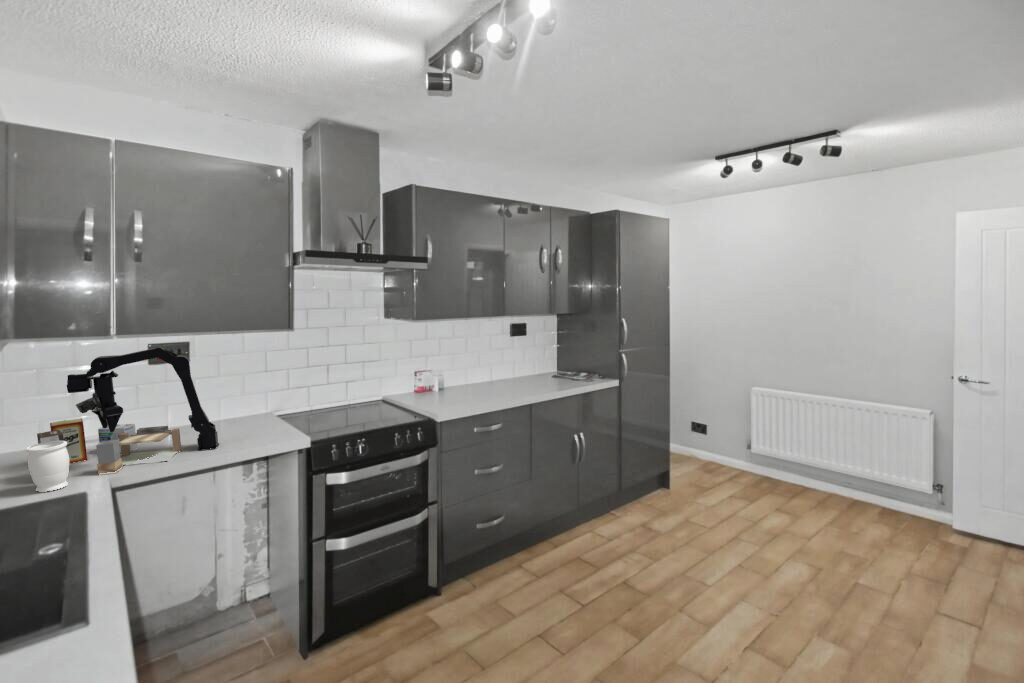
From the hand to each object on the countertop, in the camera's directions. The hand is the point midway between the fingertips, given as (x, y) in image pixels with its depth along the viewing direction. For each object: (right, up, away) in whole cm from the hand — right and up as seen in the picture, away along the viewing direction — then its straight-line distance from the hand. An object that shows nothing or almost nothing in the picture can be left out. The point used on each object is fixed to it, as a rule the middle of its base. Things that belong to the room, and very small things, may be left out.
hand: (108, 430), depth 198 cm
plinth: (+7, -14, -8) cm, 17 cm away
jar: (-1, -16, -23) cm, 28 cm away
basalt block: (+7, -10, -8) cm, 15 cm away
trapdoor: (+10, -5, +7) cm, 13 cm away
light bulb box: (-8, -12, +16) cm, 21 cm away
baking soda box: (-18, -13, +5) cm, 23 cm away
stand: (+10, -12, +6) cm, 17 cm away
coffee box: (-9, -15, -12) cm, 22 cm away
